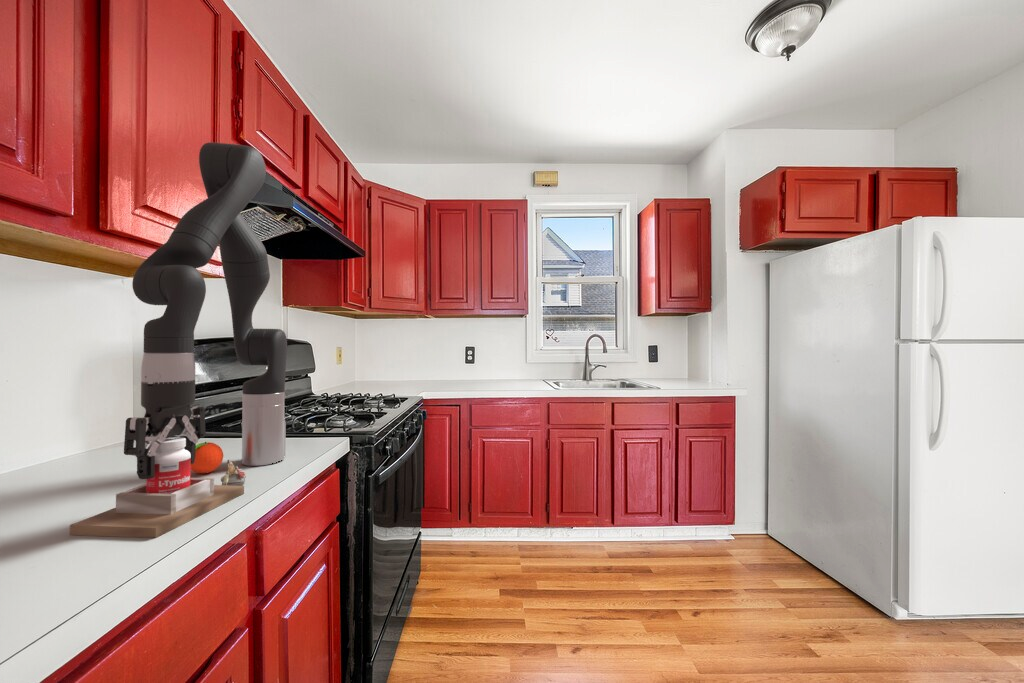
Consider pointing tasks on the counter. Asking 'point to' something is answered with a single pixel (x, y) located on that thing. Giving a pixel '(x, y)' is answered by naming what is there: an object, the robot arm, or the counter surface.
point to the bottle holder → (156, 510)
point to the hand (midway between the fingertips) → (168, 471)
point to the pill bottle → (170, 467)
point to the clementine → (207, 458)
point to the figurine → (233, 476)
